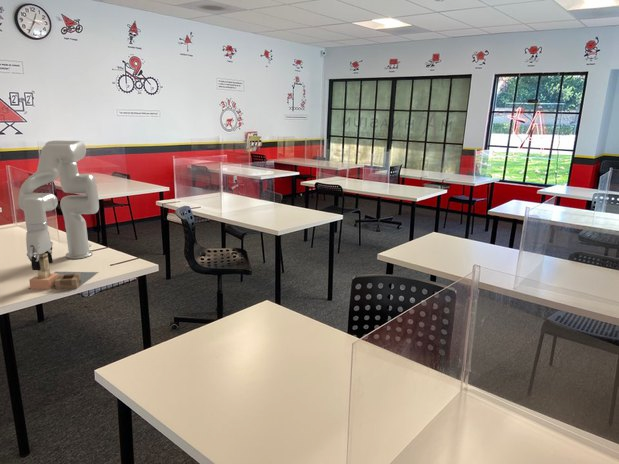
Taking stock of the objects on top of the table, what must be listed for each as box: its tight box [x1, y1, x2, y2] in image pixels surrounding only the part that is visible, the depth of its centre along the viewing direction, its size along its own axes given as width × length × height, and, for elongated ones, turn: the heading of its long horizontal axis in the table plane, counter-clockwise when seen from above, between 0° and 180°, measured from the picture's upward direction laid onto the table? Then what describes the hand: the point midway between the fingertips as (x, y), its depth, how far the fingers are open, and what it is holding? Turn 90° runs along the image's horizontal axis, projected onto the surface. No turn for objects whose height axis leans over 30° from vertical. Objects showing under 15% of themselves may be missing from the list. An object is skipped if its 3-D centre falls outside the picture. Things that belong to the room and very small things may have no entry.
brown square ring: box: [55, 273, 81, 291], centre depth 191 cm, size 8×8×4 cm
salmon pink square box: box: [28, 272, 59, 290], centre depth 191 cm, size 8×8×4 cm
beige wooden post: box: [34, 253, 51, 279], centre depth 190 cm, size 3×3×14 cm
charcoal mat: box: [28, 271, 100, 291], centre depth 198 cm, size 21×20×1 cm
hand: (42, 266), depth 189 cm, fingers open, 8 cm apart
